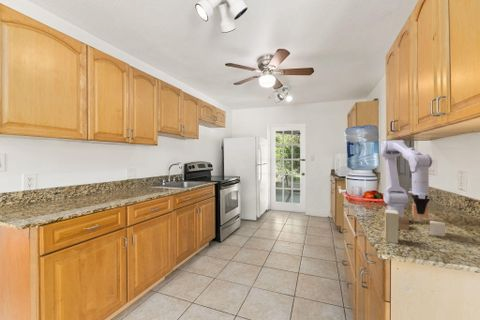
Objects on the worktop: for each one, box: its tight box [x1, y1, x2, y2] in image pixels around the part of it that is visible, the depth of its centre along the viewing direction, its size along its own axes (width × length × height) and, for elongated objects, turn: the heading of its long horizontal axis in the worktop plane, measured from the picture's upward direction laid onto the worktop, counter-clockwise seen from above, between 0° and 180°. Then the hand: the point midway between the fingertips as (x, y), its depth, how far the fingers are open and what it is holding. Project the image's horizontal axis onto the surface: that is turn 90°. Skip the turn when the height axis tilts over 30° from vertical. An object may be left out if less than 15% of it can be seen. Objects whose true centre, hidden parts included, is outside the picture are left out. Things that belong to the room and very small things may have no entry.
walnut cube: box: [398, 216, 410, 231], centre depth 106 cm, size 5×5×5 cm
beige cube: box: [429, 220, 446, 237], centre depth 97 cm, size 5×5×5 cm
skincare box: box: [384, 209, 399, 245], centre depth 89 cm, size 6×4×12 cm
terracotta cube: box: [411, 202, 429, 219], centre depth 95 cm, size 5×5×5 cm
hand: (420, 212), depth 95 cm, fingers closed on terracotta cube, 5 cm apart
